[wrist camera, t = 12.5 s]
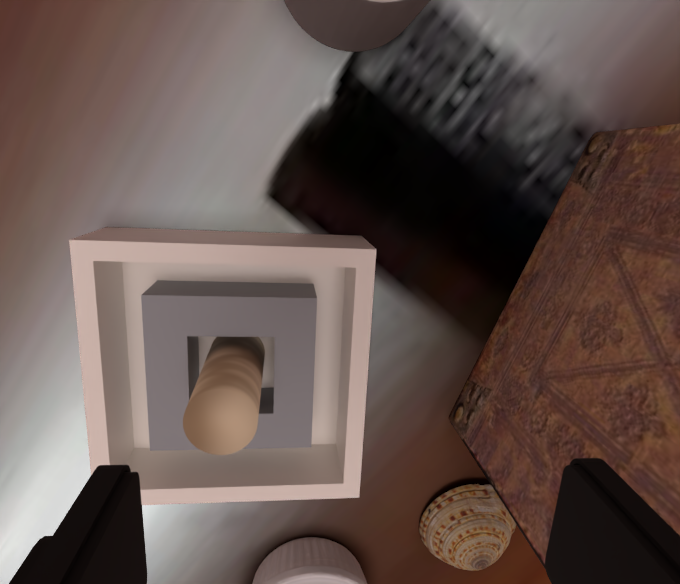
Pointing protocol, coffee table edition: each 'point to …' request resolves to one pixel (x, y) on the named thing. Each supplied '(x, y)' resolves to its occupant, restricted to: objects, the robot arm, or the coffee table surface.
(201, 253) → the open box
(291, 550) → the ramekin
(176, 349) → the plate
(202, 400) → the peg
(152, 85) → the coffee table surface
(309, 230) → the coffee table surface
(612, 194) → the book
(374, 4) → the coffee mug
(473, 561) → the seashell
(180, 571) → the coffee table surface
